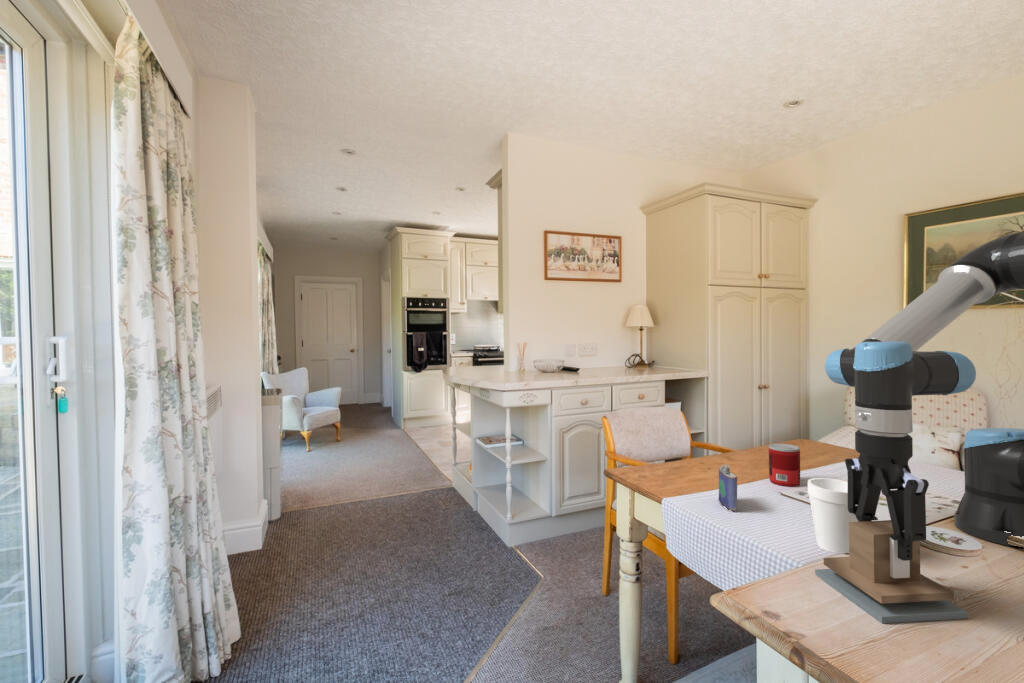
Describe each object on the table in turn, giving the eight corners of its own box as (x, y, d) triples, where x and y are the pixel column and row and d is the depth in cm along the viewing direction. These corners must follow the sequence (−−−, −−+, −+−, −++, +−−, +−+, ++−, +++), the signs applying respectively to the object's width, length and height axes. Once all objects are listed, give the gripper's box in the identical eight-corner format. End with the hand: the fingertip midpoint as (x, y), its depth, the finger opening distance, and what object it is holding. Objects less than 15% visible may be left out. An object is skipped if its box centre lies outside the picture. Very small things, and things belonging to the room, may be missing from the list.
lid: (885, 561, 82) (885, 511, 82) (953, 599, 70) (953, 541, 70) (823, 564, 81) (822, 514, 81) (881, 603, 69) (880, 545, 69)
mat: (887, 571, 83) (886, 565, 83) (967, 618, 69) (967, 612, 69) (815, 574, 82) (815, 569, 82) (882, 623, 68) (881, 616, 68)
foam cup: (847, 562, 87) (847, 495, 86) (798, 542, 95) (798, 482, 95) (872, 550, 91) (872, 487, 91) (823, 533, 99) (823, 475, 99)
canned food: (806, 487, 129) (805, 449, 129) (778, 487, 129) (778, 449, 129) (790, 478, 136) (789, 443, 136) (764, 479, 137) (763, 443, 136)
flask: (739, 512, 112) (738, 470, 111) (727, 512, 112) (726, 469, 112) (727, 499, 121) (726, 460, 121) (715, 499, 121) (714, 459, 121)
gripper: (821, 422, 84) (823, 544, 84) (912, 445, 66) (914, 600, 66) (859, 421, 85) (860, 542, 85) (959, 443, 67) (961, 597, 67)
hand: (884, 567), depth 76 cm, fingers closed on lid, 5 cm apart
